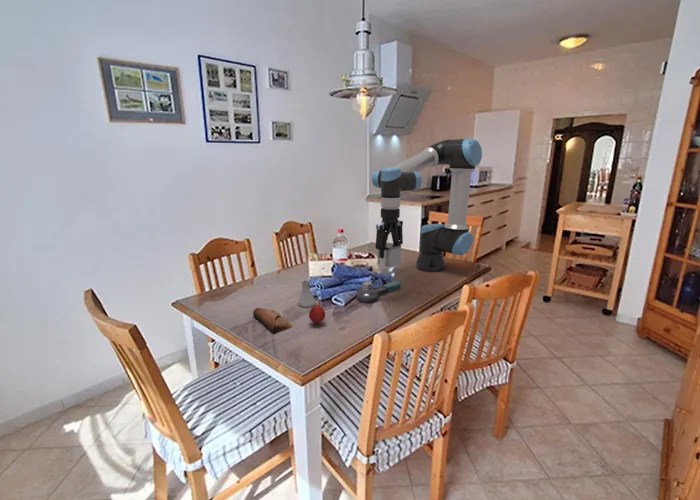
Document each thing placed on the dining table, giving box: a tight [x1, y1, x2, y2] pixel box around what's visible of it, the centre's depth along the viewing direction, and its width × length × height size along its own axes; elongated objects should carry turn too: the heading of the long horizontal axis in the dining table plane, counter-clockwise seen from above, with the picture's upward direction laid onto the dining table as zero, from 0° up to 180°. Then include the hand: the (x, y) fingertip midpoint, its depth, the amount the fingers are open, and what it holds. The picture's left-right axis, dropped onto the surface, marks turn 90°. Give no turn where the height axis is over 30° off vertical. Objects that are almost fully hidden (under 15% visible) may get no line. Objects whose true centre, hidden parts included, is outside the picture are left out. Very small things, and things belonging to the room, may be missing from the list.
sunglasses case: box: [252, 307, 294, 334], centre depth 132 cm, size 18×7×7 cm
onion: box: [308, 303, 326, 325], centre depth 129 cm, size 6×6×8 cm
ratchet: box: [356, 280, 401, 304], centre depth 155 cm, size 24×9×7 cm, turn 131°
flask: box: [297, 279, 317, 308], centre depth 146 cm, size 7×7×10 cm
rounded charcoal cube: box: [377, 242, 402, 268], centre depth 147 cm, size 7×7×8 cm
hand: (389, 263), depth 148 cm, fingers closed on rounded charcoal cube, 7 cm apart
